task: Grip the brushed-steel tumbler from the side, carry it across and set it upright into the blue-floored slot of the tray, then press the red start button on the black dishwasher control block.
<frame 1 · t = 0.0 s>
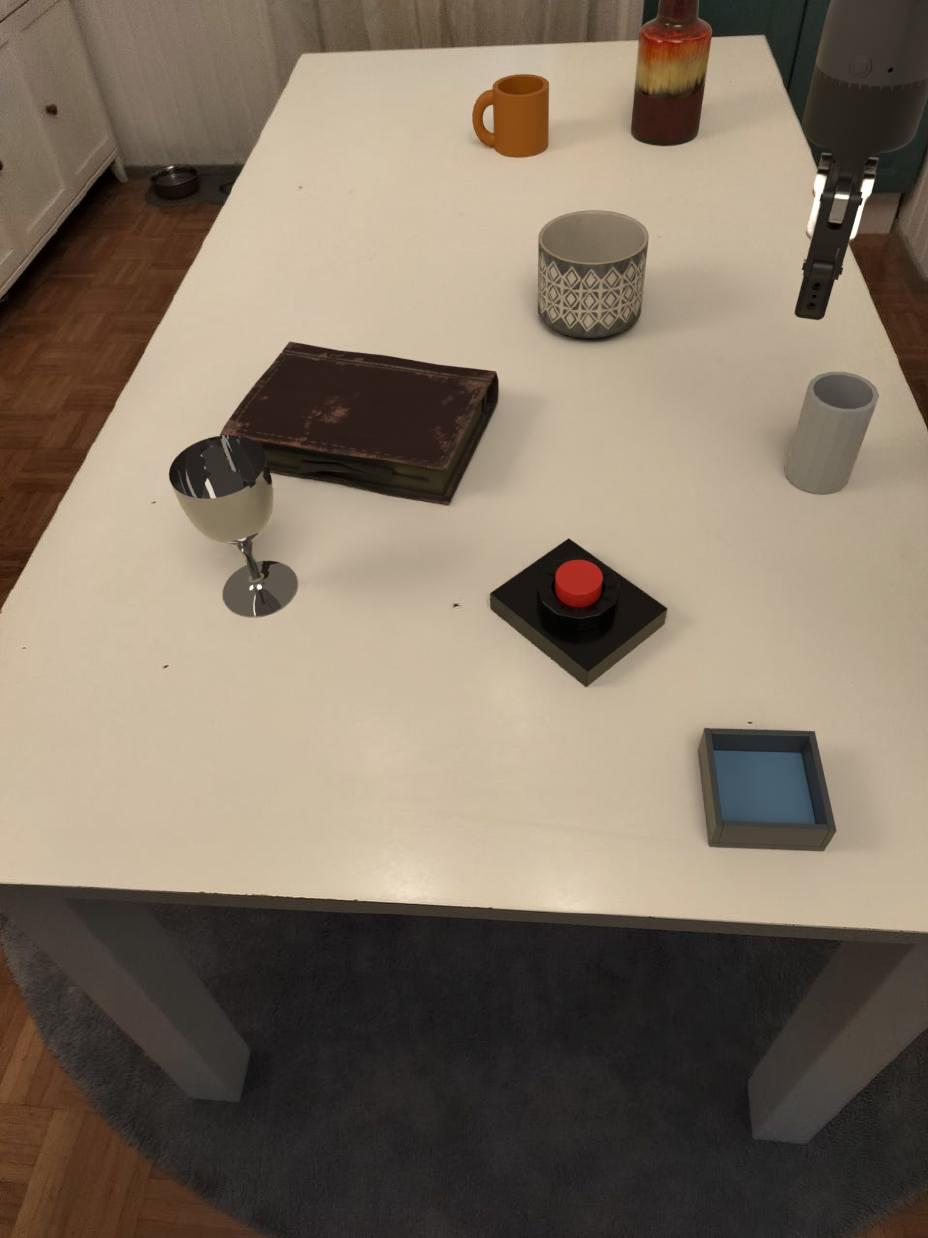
hand: (814, 287, 70), 23 cm above the table, tool pointing down, fingers open, 8 cm apart
tray: (758, 798, 67), on the table
control block: (576, 616, 79), on the table
tumbler: (816, 473, 89), on the table
diary: (367, 437, 97), on the table
planter: (588, 318, 110), on the table
vase: (664, 133, 144), on the table
start button: (578, 583, 76), point 4 cm above the table, slide at 0.1 cm
wine glass: (260, 589, 84), on the table
mug: (511, 146, 143), on the table
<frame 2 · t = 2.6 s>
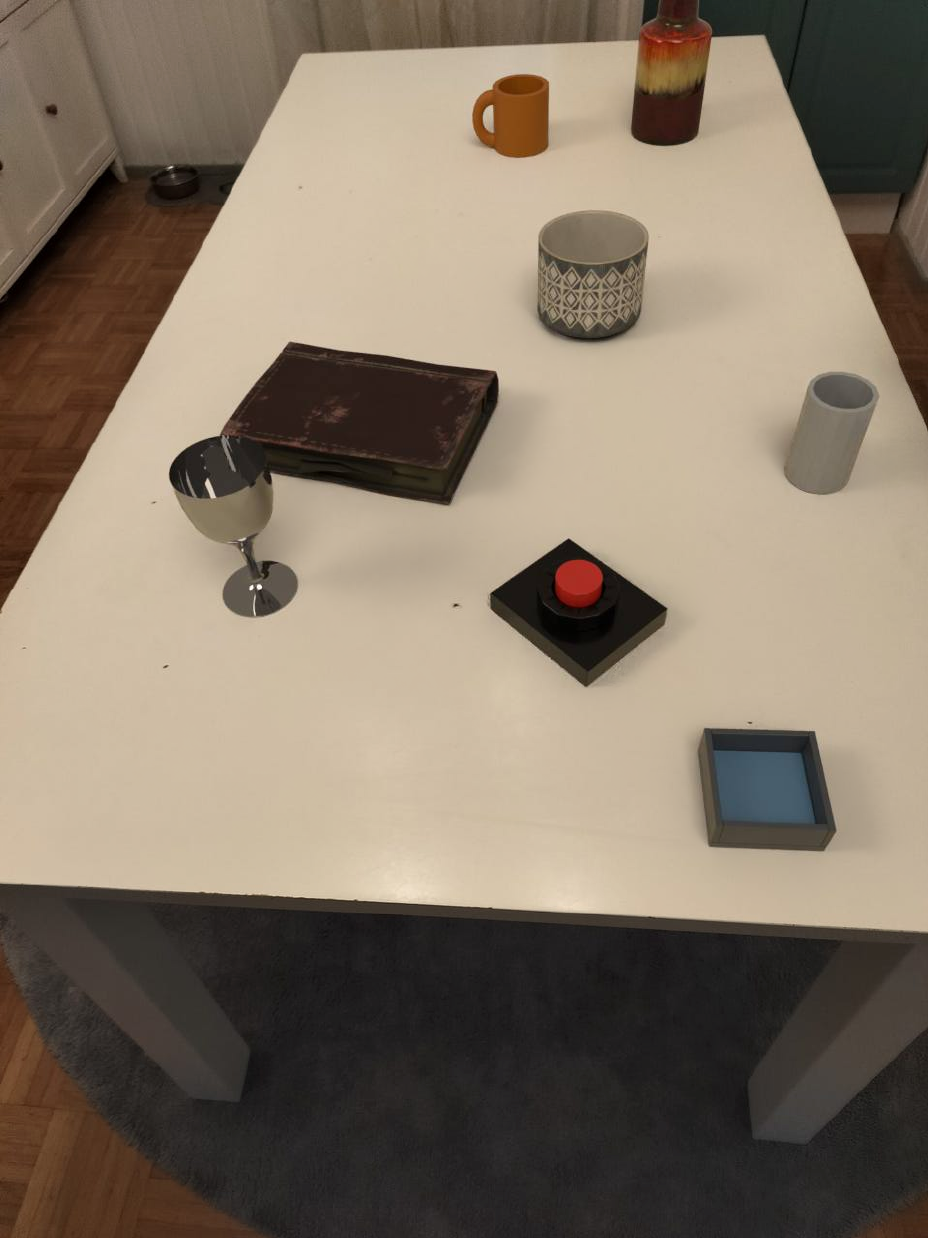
nothing on the table moved.
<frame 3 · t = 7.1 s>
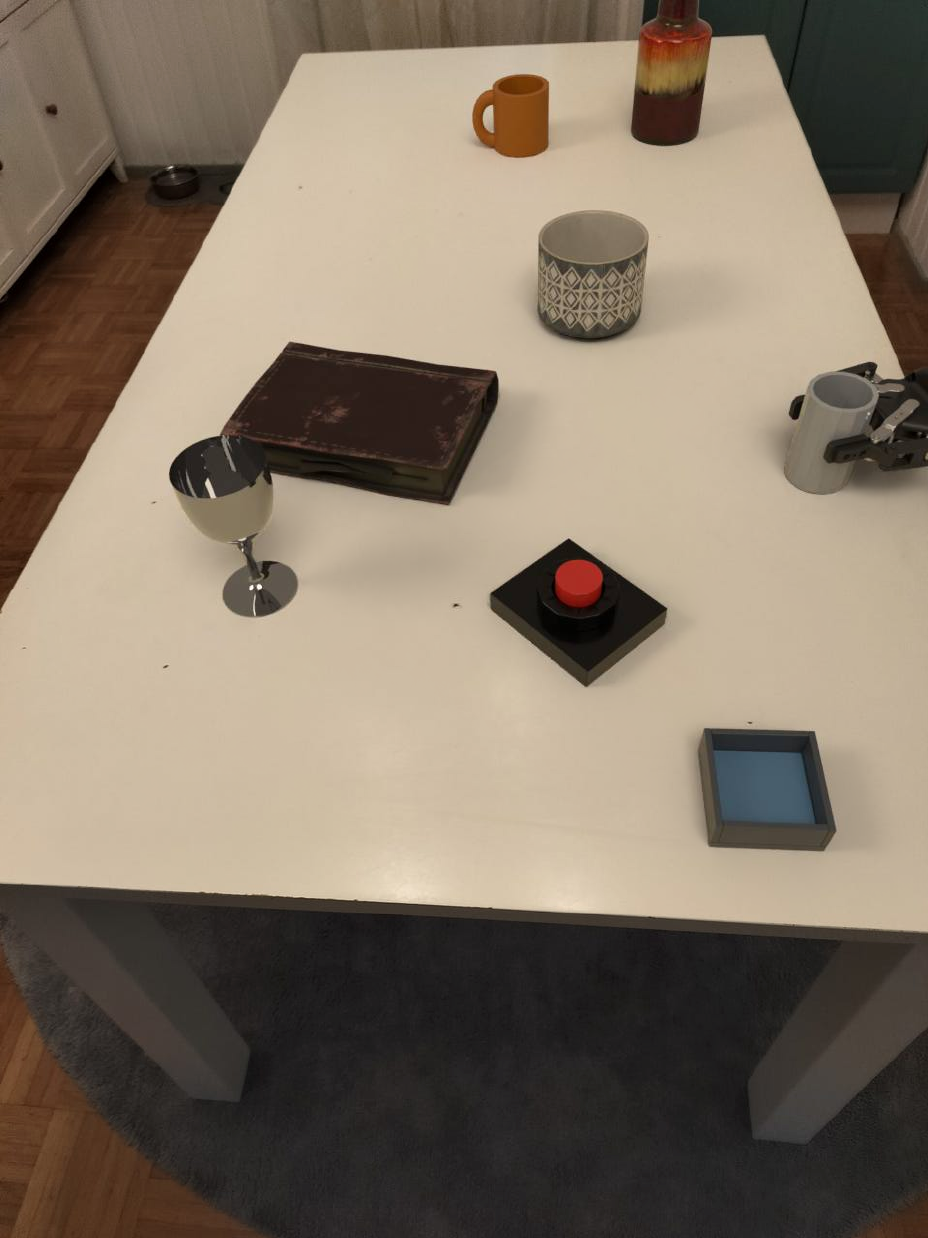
hand: (809, 430, 84), 6 cm above the table, tool horizontal, fingers closed on tumbler, 6 cm apart
tumbler: (816, 473, 89), on the table, touching gripper
everything else where it was.
when the fingers open (7 cm above the table, at t = 18.4 s): tumbler stays where it is, resting on tray.
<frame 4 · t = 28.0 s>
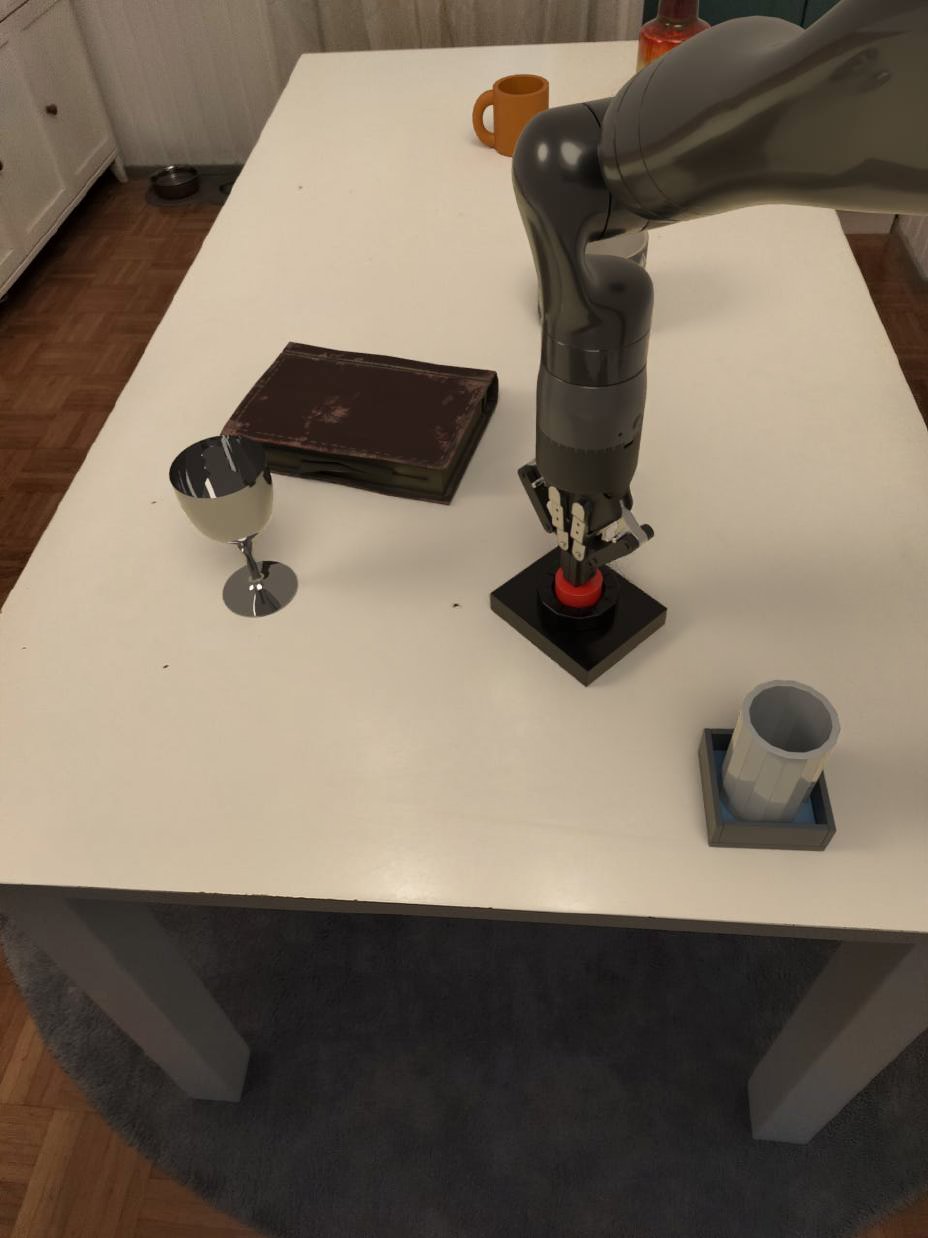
hand: (577, 578, 75), 5 cm above the table, tool pointing down, fingers closed
tumbler: (759, 791, 66), point 1 cm above the table, touching tray
start button: (578, 584, 76), point 4 cm above the table, slide at -0.1 cm, touching gripper
everything else where it was.
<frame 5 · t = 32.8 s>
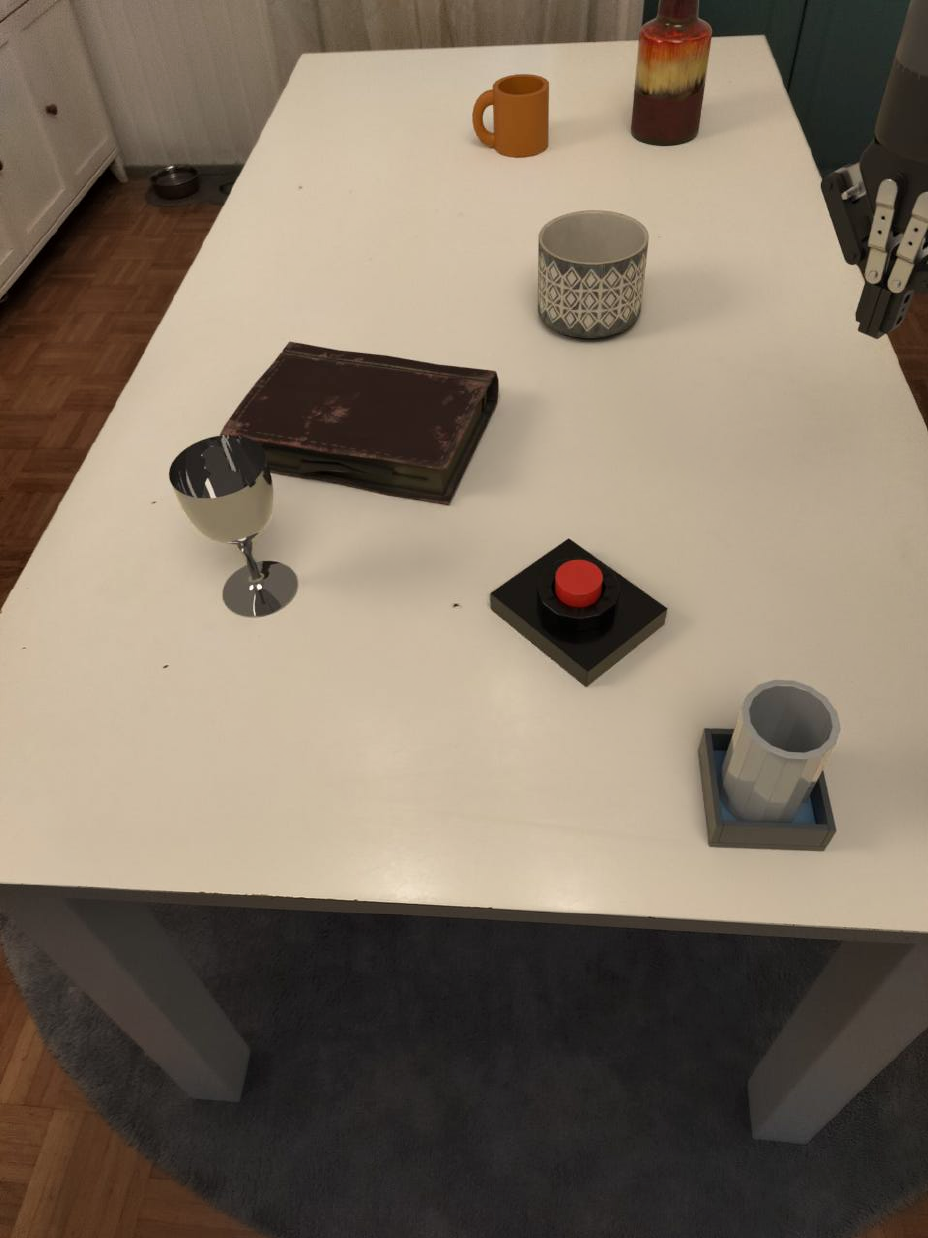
hand: (874, 330, 62), 25 cm above the table, tool pointing down, fingers closed
start button: (578, 583, 76), point 4 cm above the table, slide at 0.1 cm
everything else where it was.
at the end: tumbler 0.1 cm off-centre in the tray, point 1.0 cm above the tray's base; tumbler tilted 0°; start button pushed in 1.1 cm at the most during the clip, back to where it started at the end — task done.
